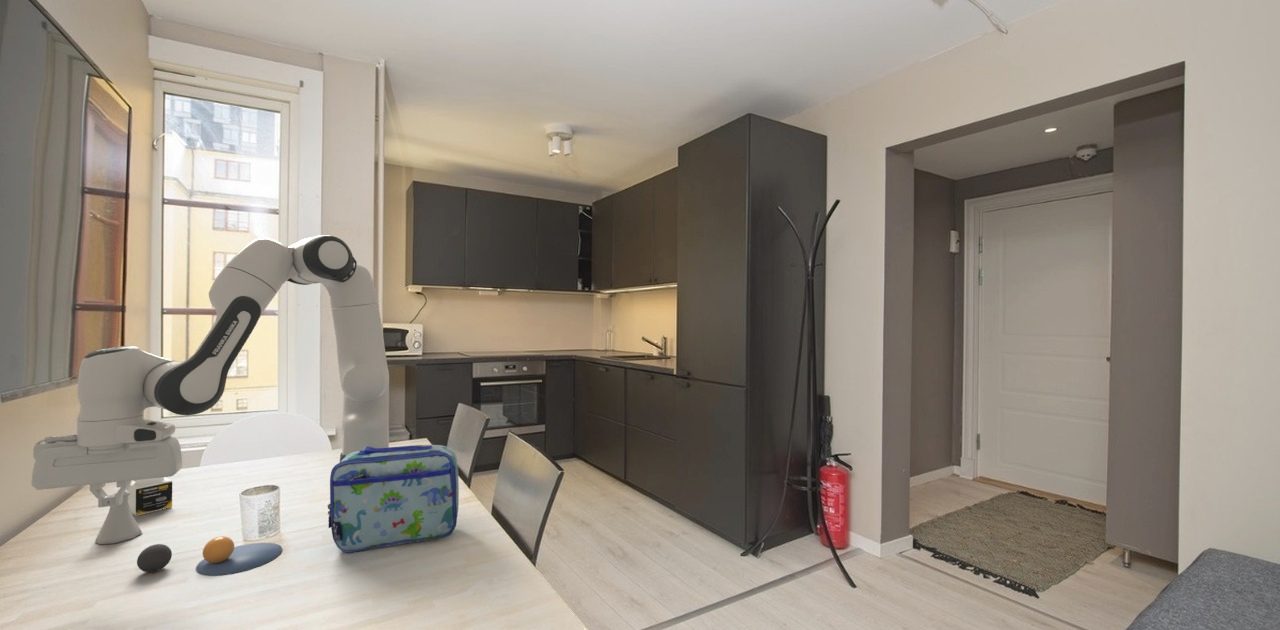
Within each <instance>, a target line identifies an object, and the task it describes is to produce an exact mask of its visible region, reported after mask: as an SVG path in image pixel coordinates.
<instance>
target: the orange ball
mask: <svg viewBox="0 0 1280 630" xmlns="http://www.w3.org/2000/svg"><path fill="white" fill-rule="evenodd" d="M234 547H235V542H234V541H233V540H232V538H230V537H228V536H221V535H220V536H216V537H214V538H211V539H210V540H209V541H207V543H206V544H205V545H204V547H203V549H202V558H203V559H205V560H206V561H207V562H209V563H220V562H223V561H225V560H226V559H228V558H229V557H230V556H231V554H232V553H233V551H234Z"/></svg>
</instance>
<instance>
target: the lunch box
mask: <svg viewBox="0 0 1280 630" xmlns="http://www.w3.org/2000/svg"><path fill="white" fill-rule="evenodd" d="M458 465H459V464H458V458H457V454H456V453H455V451H454V450H453V449H452V448H450V447H448V446H446V445H441V444H416V445H415V444H414V445H403V446H402V445H401V446H391V447H390V446H389V447H388V448H373V447H369V446H367V447H366V448H365V450H361V451H356V452H353V453H350V454H349V455H347V456H345V457H344V458H343V460H342V461H341V462H340V461H339V462H338V463H337V464H335V465H334V466H333V467H332V469H331V471H330V477H329V499H330V501H329V503H328V504H327V509H328V511H327V515H328V521H327V522H328V529H330V528H331V535H332V538H333V539H332V540H333V541H334V542H333V543H334V544H335V545H336V547H337V548H338V549H339V550H340V551H342V552H343V553H347V552H350V553H355V552H359V551H363V550H368V549H374V548H375V549H376V548H382V547H389V546H388V545H390V546H394V545H395V544H397V545H403V544H402V543H404V544H410V543H409V542H411V543H416V541H418V542H424V541H431V540H436V539H442V538H445V537H446V538H447V537H449V536H450V535H451V534H453V532H454V531H455V529H456V527H457V523H458V522H457V520H458V513H459V501H460V499H459V497H460V496H459V493H460V491H459V489H460V487H459V483H460V482H459V467H458ZM395 546H396V545H395Z"/></svg>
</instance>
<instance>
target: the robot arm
mask: <svg viewBox="0 0 1280 630" xmlns="http://www.w3.org/2000/svg"><path fill="white" fill-rule="evenodd" d="M357 263H358V262H357V260H356V259H355V257H354V255H353V253H352V250H351V248H350V247H349V246H348V244H347V243H346V242H345V241H344V240H343V239H341V238H339V237H336V236H333V235H328V234H327V235H326V234H320V235H316V236H312V237H308V238H304V239H301V240H299V241H298V242H296V243H293V244H291V245H288V246H286V245H284V244H283V243H281V242H279V241H277V240H275V239H271V238H266V237H262V238H257V239H253V240H252V241H251V242H249V243H248V244H247V245H246V246H244V247H243V248H242V249H241V250H239V252H238V253H237V254H235V256H233V257H232V258H231V260H229V261H228V263H227V264H226V265H225V266H224V268H223V269H222V270H221V271H220V273H219V274H218V275H217V276H216V278H215V279H214V281H213V283H212V285H211V287H210V288H209V289H210V290H209V291H208V298H209V302H210V304H211V306H212V307H213V308H214V310H215V312H216V318H215V322H214V323H213V325H212V327H211V329H210V330H209V331H208V333H207V334H206V336H205V337H204V338H203V340H202V342H201V343H200V345H199V346H198V348H197V349H196V351H195V352H194V353H193V354H192V355H191V356H190V357H189V358H187V359H185V360H184V361H178V360H174V359H169V358H167V357H165V358H164V357H163V356H162V357H161V356H158V355H155V354H152V353H150V352H148V351H146V350H143V349H141V348H140V347H138V346H135V345H120V346H111V347H106V348H100V349H97V350H94V351H91V352H89V353H88V354H86V355H85V356H84V357H83V358H82V360H81V363H80V366H79V370H78V371H79V372H78V377H77V395H76V396H77V400H78V401H79V406H80V409H79V413H78V415H77V418H76V421H77V422H76V434H70V435H69V434H68V435H63V436H54V435H53V436H48V437H45V438H44V439H41V440H39V441H37V442H36V443H35V445H34V446H33V448H32V449H33V450H32V451H33V453H32V454H33V455H32V456H33V459H34V464H33V469H32V472H31V473H32V474H31V480H30V481H31V486H32V487H33V488H34V489H36V490H37V491H43V490H52V489H53V490H54V489H60V488H61V489H62V488H70V487H71V488H72V487H81V486H89V491H90V493H92V495H93V496H94V497H95V498H96V499H97V507H98V508H106V507H110V506H117V505H121V504H122V503H123V494H124V493H125V492H127V488H128V487H129V486H130V484H131V482H133V481H134V480H142V479H151V478H161V477H165V478H170V477H174V476H175V475H176V474H178V472H179V471H181V469H182V467H183V458H182V456H183V455H182V449H181V444H180V442H179V440H178V439H177V438H176V437H175V436H173V435H174V433H175V431H176V426H175V425H174V423H169V422H164V421H163V422H162V421H157V420H153V419H146V418H145V417H144V412H145V410H146V409H148V408H153V407H155V408H159V409H162V410H167V412H171V413H172V414H176V415H180V416H194V415H198V414H201V413H204V412H206V411H208V410H210V409H211V408H213V407H214V406H215V405H216V404H218V402H219V401H220V400H221V398H222V396H223V394H224V391H225V388H226V383H227V378H228V374H229V371H230V369H231V367H232V365H233V363H234V362H235V360H236V359H237V357H238V356H239V354H240V352H241V350H242V349H243V347H244V345H245V344H246V343H247V341H248V339H249V338H250V336H251V334H252V332H253V330H254V329H255V327H256V325H257V324H258V321H259V320H260V318H261V316H262V314H263V312H264V311H265V310H266V308H267V307H268V306H269V304H270V303H271V301H272V300H273V299H274V297H275V296H276V295H277V294H278V292H279V290H280V289H281V287H282V286H283V285H284V284H285V283H286V282H290V283H292V284H297V285H300V286H301V285H302V286H307V285H312V284H313V285H314V284H322V285H323V287H324V288H325V289H326V291H327V292H328V296H329V301H330V307H331V308H330V309H331V315H332V321H333V328H334V334H335V342H336V352H337V353H336V354H337V363H338V371H339V379H340V380H339V381H340V386H341V390H342V392H343V403H342V404H343V405H342V406H343V407H342V409H343V410H342V423H341V424H342V427H341V431H342V432H341V452H340V455H339V463H340V462H341V461H342V460H343V458H344V457H345V456H347V455H349V454H350V453H353V452H356V451H361V450H365V448H366V447H367V446H369V447H373V448H388V447H390V442H389V441H390V372H389V368H388V362H387V361H388V360H387V355H386V347H385V340H384V332H383V327H382V326H383V325H382V319H381V313H380V306H379V300H378V294H377V291H376V287H375V286H376V285H375V284H374V280H373V278H372V275H371V272H370V270H368V268H367V267H364V266H363V265H359V264H357ZM110 483H116V488H119V489H118V491H117V492H116V493H117V494H115V495H111V494H107V493H106V491H105V490H104V489H103V488H104V487H106V484H110Z"/></svg>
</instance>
